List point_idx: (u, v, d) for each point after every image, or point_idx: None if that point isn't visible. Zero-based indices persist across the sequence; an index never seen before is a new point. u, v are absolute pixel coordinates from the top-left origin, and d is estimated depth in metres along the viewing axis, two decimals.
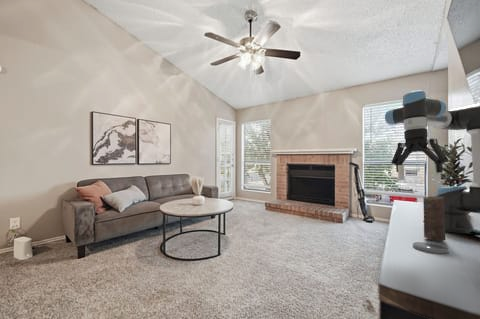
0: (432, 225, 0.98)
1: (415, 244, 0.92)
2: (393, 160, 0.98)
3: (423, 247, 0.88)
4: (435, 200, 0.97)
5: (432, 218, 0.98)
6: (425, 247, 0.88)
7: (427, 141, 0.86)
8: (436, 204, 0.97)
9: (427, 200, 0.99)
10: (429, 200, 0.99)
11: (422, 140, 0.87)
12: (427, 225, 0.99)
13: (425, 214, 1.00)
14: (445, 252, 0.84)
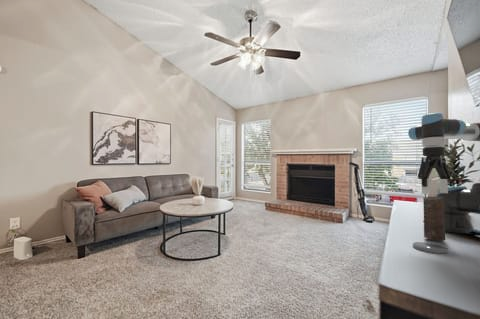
0: (432, 225, 0.98)
1: (415, 244, 0.92)
2: None
3: (423, 247, 0.88)
4: (435, 200, 0.97)
5: (432, 218, 0.98)
6: (425, 247, 0.88)
7: None
8: (435, 204, 0.97)
9: (427, 200, 0.99)
10: (429, 200, 0.99)
11: None
12: (427, 225, 0.99)
13: (425, 214, 1.00)
14: (445, 252, 0.84)
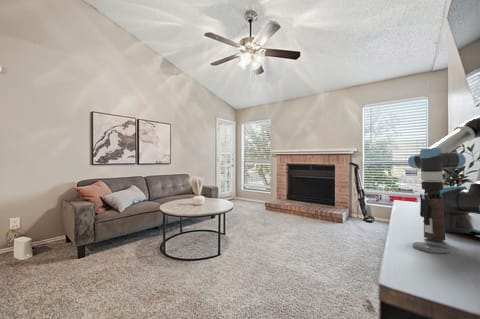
0: (432, 225, 0.98)
1: (415, 244, 0.92)
2: None
3: (423, 247, 0.88)
4: (435, 200, 0.97)
5: (432, 218, 0.98)
6: (425, 247, 0.88)
7: None
8: (435, 204, 0.97)
9: None
10: (429, 200, 0.99)
11: None
12: None
13: None
14: (445, 252, 0.84)
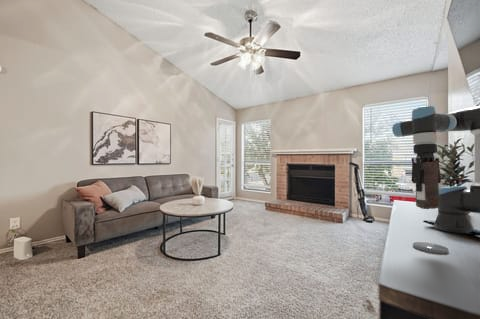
0: (425, 191, 0.88)
1: (415, 244, 0.92)
2: None
3: (423, 247, 0.88)
4: (428, 163, 0.88)
5: (425, 183, 0.88)
6: (425, 247, 0.88)
7: None
8: (428, 168, 0.88)
9: None
10: (421, 164, 0.89)
11: None
12: None
13: None
14: (445, 252, 0.84)
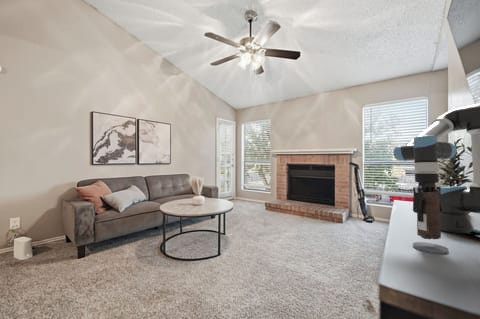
0: None
1: (415, 244, 0.92)
2: None
3: (423, 247, 0.88)
4: (429, 193, 0.87)
5: (426, 214, 0.87)
6: (425, 247, 0.88)
7: None
8: (430, 198, 0.87)
9: None
10: (423, 194, 0.89)
11: None
12: None
13: None
14: (445, 252, 0.84)
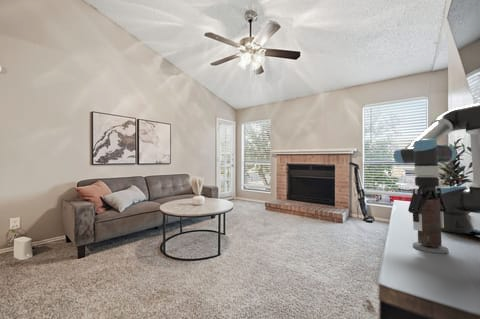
0: (427, 229, 0.87)
1: (415, 244, 0.92)
2: None
3: (423, 247, 0.88)
4: (430, 201, 0.87)
5: (427, 221, 0.87)
6: (425, 247, 0.88)
7: None
8: (430, 206, 0.87)
9: None
10: None
11: None
12: None
13: None
14: (445, 252, 0.84)
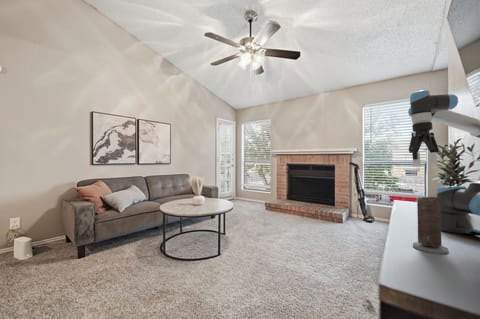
0: (427, 229, 0.87)
1: (415, 244, 0.92)
2: None
3: (423, 247, 0.88)
4: (430, 201, 0.87)
5: (427, 221, 0.87)
6: (425, 247, 0.88)
7: None
8: (430, 206, 0.87)
9: (421, 201, 0.89)
10: (423, 201, 0.88)
11: None
12: (421, 229, 0.89)
13: (419, 217, 0.90)
14: (445, 252, 0.84)
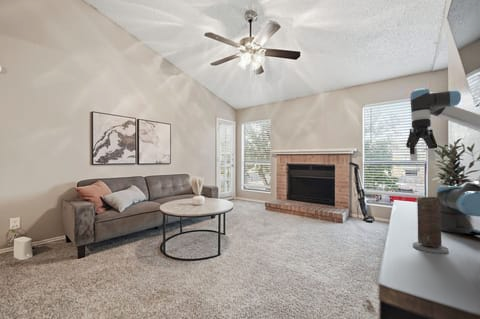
0: (427, 229, 0.87)
1: (415, 244, 0.92)
2: None
3: (423, 247, 0.88)
4: (430, 201, 0.87)
5: (427, 221, 0.87)
6: (425, 247, 0.88)
7: None
8: (430, 206, 0.87)
9: (421, 201, 0.89)
10: (423, 201, 0.88)
11: None
12: (421, 229, 0.89)
13: (419, 217, 0.90)
14: (445, 252, 0.84)
